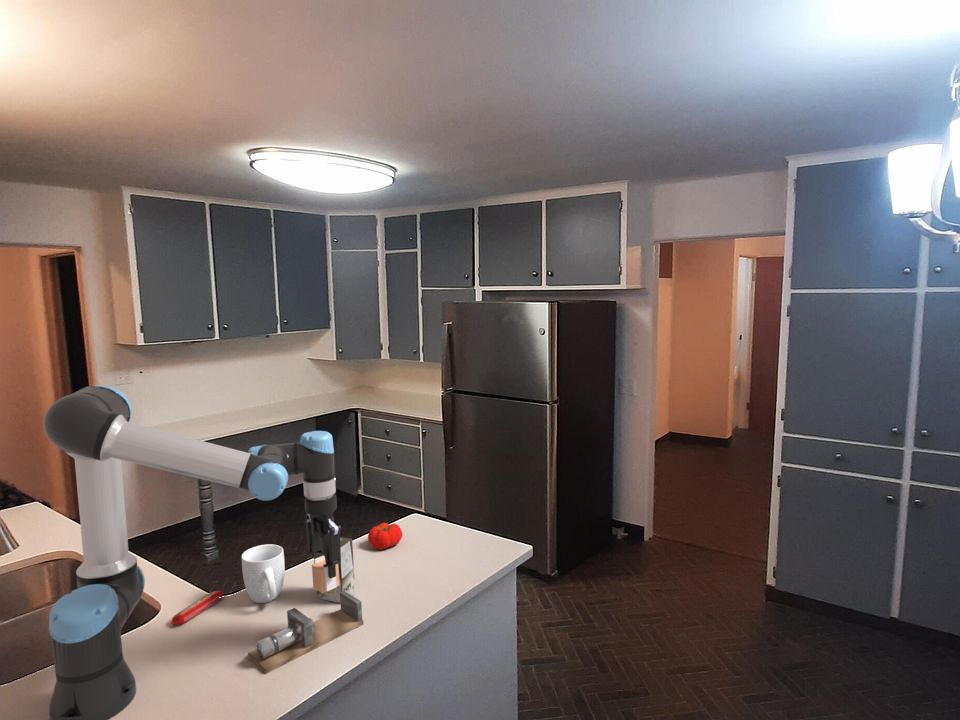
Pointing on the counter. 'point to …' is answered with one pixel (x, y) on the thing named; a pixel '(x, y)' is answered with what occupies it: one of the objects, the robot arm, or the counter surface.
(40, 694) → the counter surface
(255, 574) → the mug
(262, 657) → the shaft
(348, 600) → the rail
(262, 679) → the counter surface
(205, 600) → the candy bar
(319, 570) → the block
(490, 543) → the counter surface
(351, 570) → the coffee box
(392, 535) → the tomato
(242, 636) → the counter surface
